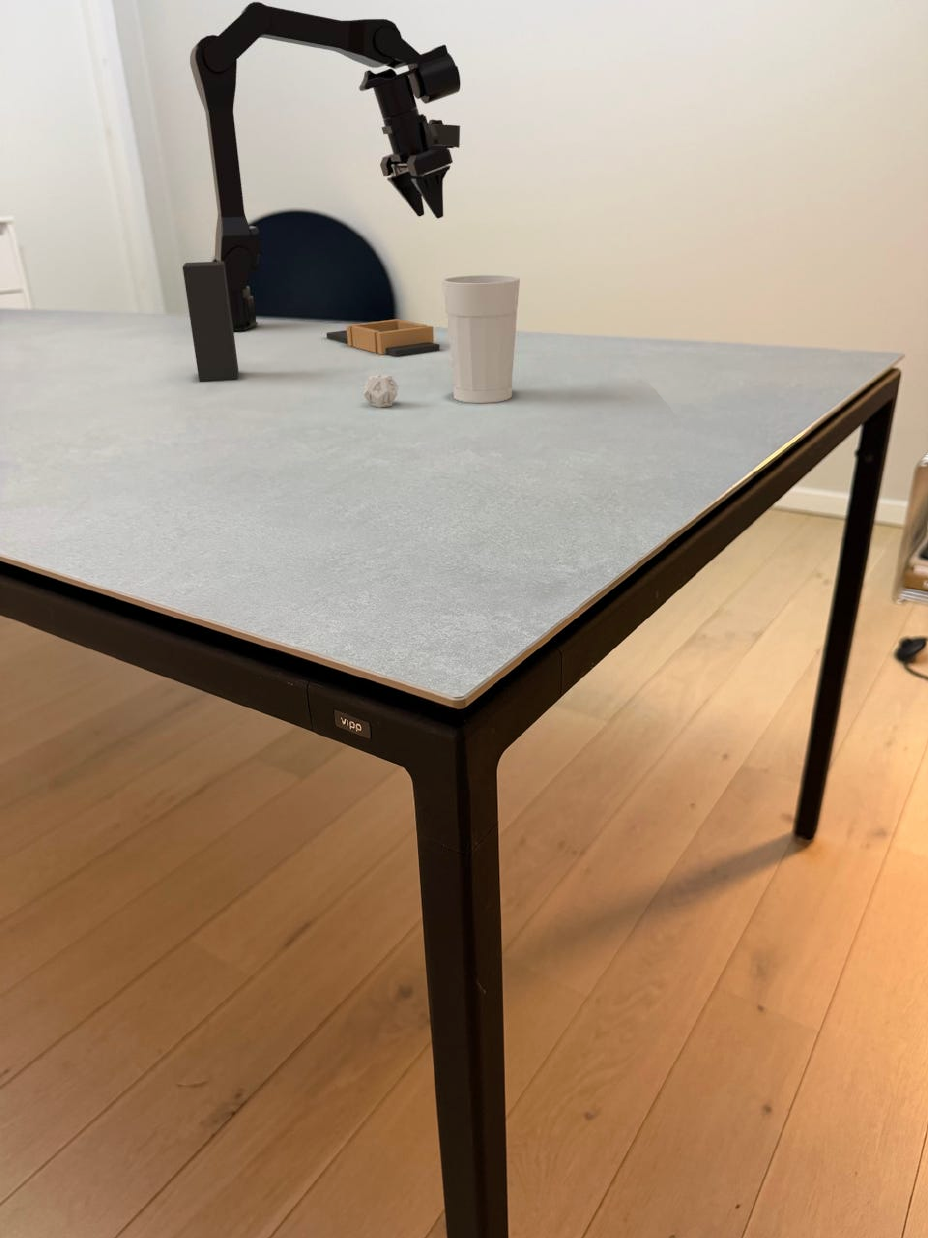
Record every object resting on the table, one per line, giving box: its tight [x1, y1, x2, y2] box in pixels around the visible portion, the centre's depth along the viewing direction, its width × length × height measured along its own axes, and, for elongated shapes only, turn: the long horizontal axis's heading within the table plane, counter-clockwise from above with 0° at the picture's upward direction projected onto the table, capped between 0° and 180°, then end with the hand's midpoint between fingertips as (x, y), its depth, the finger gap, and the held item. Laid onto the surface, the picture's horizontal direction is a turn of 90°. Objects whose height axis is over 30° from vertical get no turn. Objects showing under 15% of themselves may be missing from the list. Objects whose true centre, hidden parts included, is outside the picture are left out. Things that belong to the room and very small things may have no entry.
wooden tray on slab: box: [326, 318, 440, 357], centre depth 131 cm, size 20×8×3 cm, turn 35°
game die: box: [363, 373, 399, 409], centre depth 96 cm, size 4×4×3 cm
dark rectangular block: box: [182, 261, 239, 382], centre depth 110 cm, size 4×4×13 cm
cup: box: [442, 274, 521, 404], centre depth 97 cm, size 8×8×12 cm
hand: (430, 216), depth 152 cm, fingers open, 9 cm apart
